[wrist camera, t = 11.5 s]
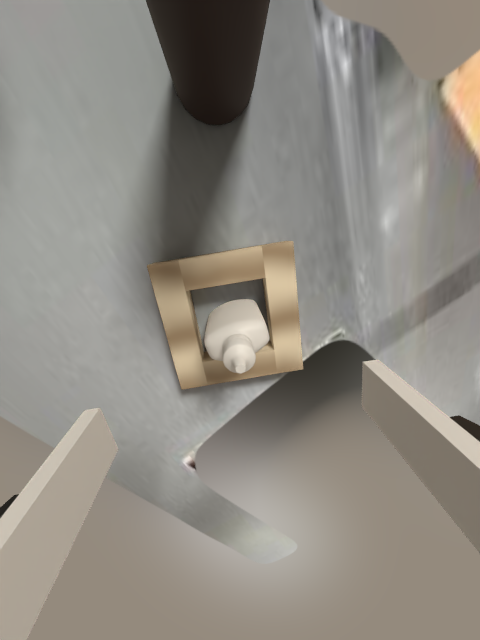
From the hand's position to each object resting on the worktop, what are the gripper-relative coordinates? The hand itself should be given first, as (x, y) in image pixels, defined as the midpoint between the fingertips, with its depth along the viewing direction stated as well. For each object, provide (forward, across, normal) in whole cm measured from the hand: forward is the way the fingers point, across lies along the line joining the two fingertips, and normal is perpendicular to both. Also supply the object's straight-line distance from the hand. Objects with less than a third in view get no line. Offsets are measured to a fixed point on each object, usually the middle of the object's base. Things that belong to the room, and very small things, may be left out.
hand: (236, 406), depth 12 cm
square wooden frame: (+16, 0, -1) cm, 16 cm away
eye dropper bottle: (+16, 0, -1) cm, 16 cm away
